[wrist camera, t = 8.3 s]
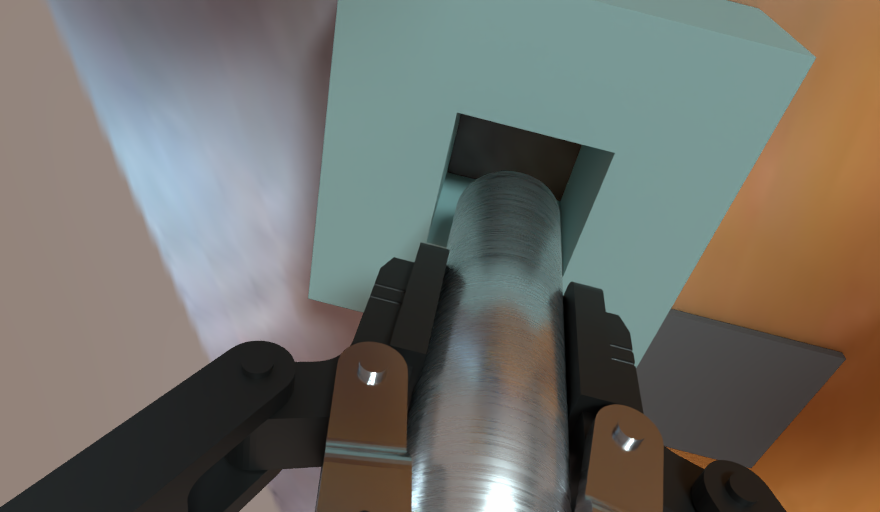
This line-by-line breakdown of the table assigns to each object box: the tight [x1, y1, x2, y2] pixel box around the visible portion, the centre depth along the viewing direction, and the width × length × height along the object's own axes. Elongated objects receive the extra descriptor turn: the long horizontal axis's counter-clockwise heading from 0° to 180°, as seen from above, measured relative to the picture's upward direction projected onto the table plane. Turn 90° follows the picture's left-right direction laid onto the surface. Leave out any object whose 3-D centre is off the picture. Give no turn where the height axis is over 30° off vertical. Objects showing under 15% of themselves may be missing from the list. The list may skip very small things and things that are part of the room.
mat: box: [636, 309, 846, 468], centre depth 28 cm, size 9×8×1 cm
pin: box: [406, 171, 571, 512], centre depth 13 cm, size 3×3×12 cm
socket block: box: [308, 0, 816, 368], centre depth 21 cm, size 12×12×5 cm
